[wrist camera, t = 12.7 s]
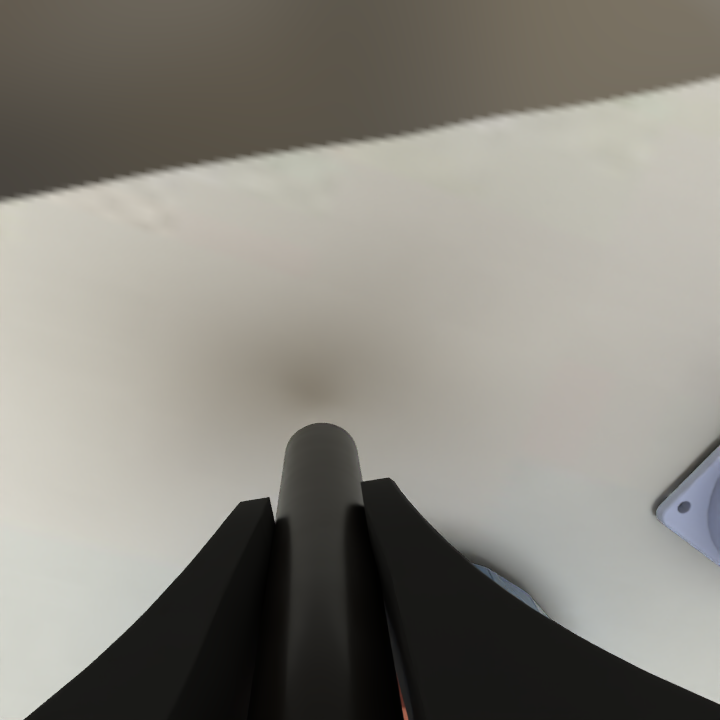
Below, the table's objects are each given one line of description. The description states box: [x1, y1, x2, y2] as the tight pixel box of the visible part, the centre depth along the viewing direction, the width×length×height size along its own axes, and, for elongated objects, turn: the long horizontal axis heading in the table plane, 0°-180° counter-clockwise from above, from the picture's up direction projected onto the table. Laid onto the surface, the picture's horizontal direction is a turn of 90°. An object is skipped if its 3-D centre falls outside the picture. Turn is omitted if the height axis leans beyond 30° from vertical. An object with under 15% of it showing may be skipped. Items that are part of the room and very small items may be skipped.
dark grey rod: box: [247, 423, 404, 720], centre depth 8 cm, size 2×2×9 cm
